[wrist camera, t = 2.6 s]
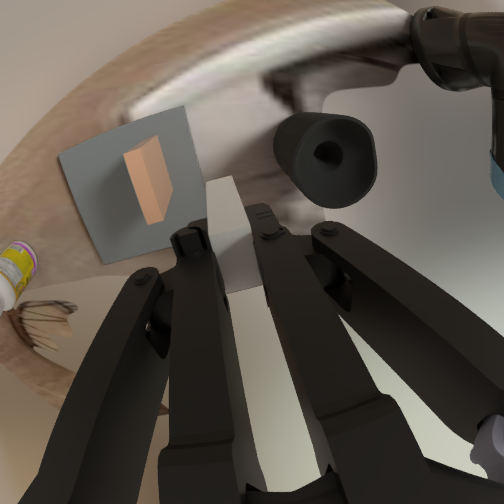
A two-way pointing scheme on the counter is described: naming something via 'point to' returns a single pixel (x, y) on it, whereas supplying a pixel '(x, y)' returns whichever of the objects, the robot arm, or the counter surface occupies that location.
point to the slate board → (121, 189)
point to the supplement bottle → (15, 273)
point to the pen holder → (327, 157)
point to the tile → (149, 178)
